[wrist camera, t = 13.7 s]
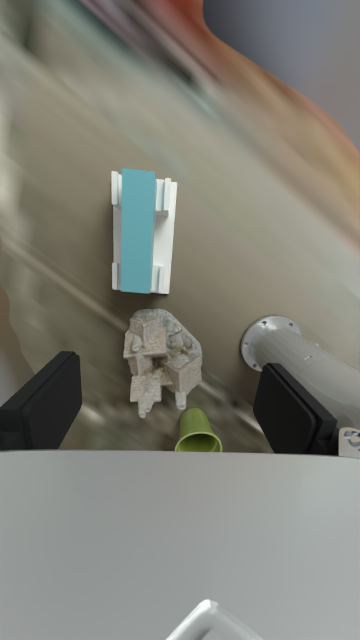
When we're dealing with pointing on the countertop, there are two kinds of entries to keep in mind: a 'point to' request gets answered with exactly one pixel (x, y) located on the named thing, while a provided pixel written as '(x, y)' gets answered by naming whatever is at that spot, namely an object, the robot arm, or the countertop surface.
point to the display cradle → (161, 234)
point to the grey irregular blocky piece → (160, 358)
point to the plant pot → (196, 433)
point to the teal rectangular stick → (137, 229)
